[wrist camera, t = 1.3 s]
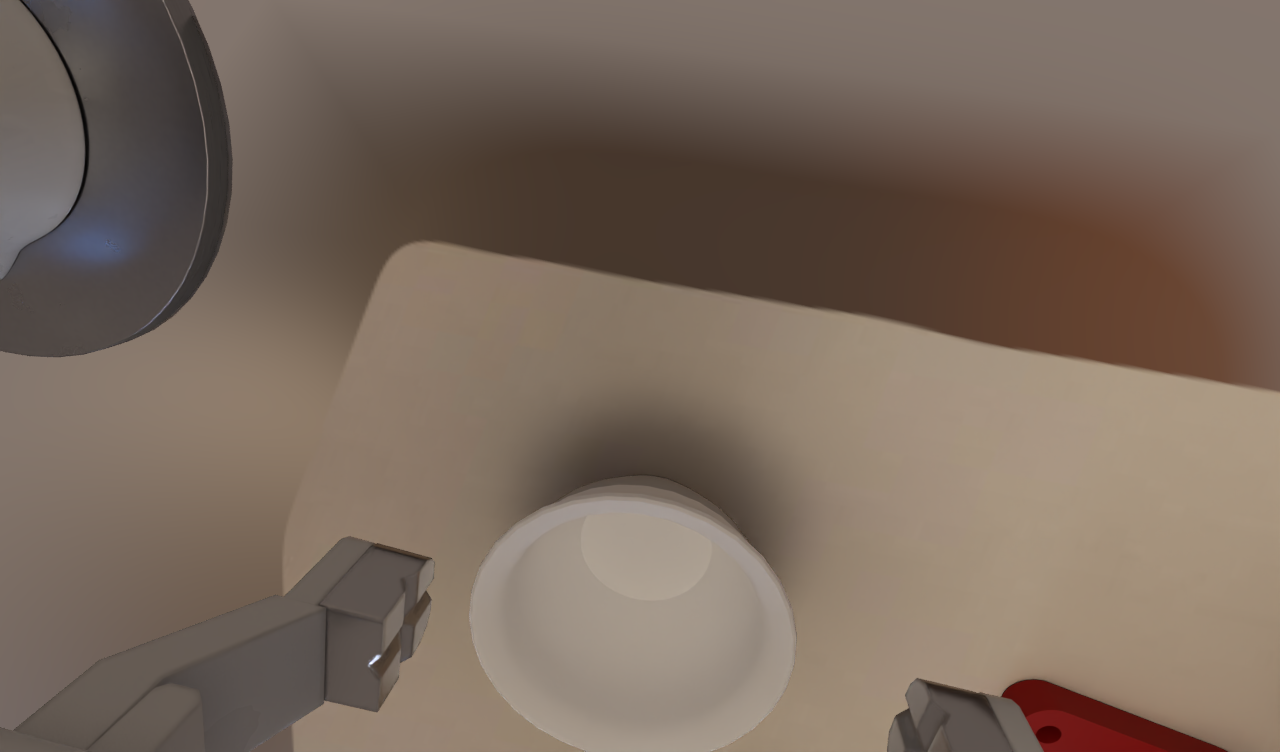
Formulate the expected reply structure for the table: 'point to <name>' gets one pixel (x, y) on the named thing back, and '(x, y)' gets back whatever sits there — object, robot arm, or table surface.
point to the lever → (1092, 724)
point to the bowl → (633, 620)
